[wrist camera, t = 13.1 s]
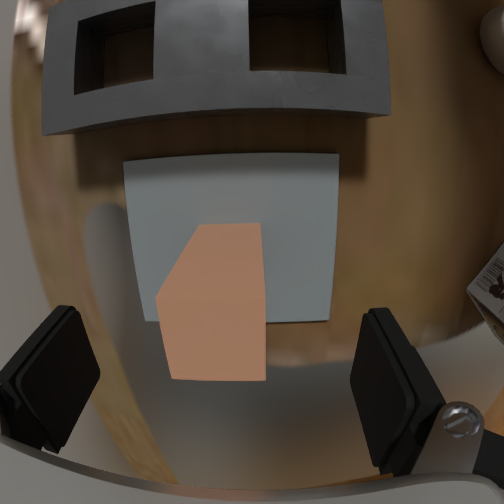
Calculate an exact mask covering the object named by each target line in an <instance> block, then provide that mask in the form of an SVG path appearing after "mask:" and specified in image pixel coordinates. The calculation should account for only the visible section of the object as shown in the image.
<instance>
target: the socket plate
mask: <svg viewBox="0 0 504 504" xmlns="http://www.w3.org/2000/svg"><path fill="white" fill-rule="evenodd" d="M249 16H290V17H308V18H320V19H326V32H327V47H328V65H329V73H320V72H302V71H250V40H249ZM150 26H154V59H153V79H151V80H145V81H139V82H133V83H127V84H122V85H117V86H112V87H107V88H103V72H104V46H105V36H109V35H113V34H117V33H121V32H125V31H130V30H135V29H139V28H144V27H150ZM243 114H303V115H327V116H343V117H356V118H373V117H380V116H388V115H391V97H390V75H389V59H388V47H387V37H386V28H385V19H384V12H383V5H382V0H68V1H65V2H63V3H60V4H58V5H55V6H53V7H51V8H50V9H49V16H48V23H47V30H46V39H45V48H44V60H43V77H42V136H49V135H65V134H77V133H82V132H87V131H92V130H98V129H103V128H109V127H115V126H122V125H128V124H135V123H143V122H151V121H159V120H168V119H178V118H189V117H203V116H219V115H243Z"/></svg>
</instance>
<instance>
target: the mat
mask: <svg viewBox="0 0 504 504" xmlns="http://www.w3.org/2000/svg"><path fill="white" fill-rule="evenodd" d="M123 170H124V182H125V193H126V203H127V212H128V220H129V228H130V235H131V243H132V249H133V256H134V263H135V268H136V275H137V281H138V286H139V291H140V297H141V302H142V307H143V312H144V317H145V321H158V322H159V317H158V311H157V306H156V300H155V297H156V296H157V294H158V292H159V290H160V289H161V287H162V285H163V283H164V282H165V280H166V278H167V277H168V275H169V273H170V272H171V270H172V268H173V267H174V265H175V263H176V261H177V260H178V258H179V257H180V255H181V253H182V252H183V250H184V248H185V247H186V245H187V243H188V242H189V240H190V238H191V237H192V235H193V234H194V232H195V230H196V229H197V227H198V226H199V225H205V224H242V223H261V237H262V251H263V266H264V281H265V296H266V322H295V321H319V320H329V314H330V304H331V294H332V284H333V272H334V260H335V246H336V231H337V212H338V187H339V154H329V153H231V154H208V155H191V156H177V157H164V158H153V159H143V160H133V161H125V162H123Z"/></svg>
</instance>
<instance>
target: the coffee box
mask: <svg viewBox="0 0 504 504" xmlns="http://www.w3.org/2000/svg"><path fill="white" fill-rule="evenodd" d="M466 292H467V294H468V295H469V297H470V298H471V300H472V301H473V302H474V304H475V305H476V307H477V308H478V310H479V311H480V313H481V315H482V316H483V318H484V319H485V321H486V322H487V324H488V325H489V327H490V328H491V330H492V332H493V333H494V335H495V336H496V337H497V338H498V339H499V340H500V342H501V343H503V344H504V242H503V244H502V245H501V246H500V248H499V249H498V250H497V252H496V253H495V254H494V255H493V257H492V258H491V259H490V260H489V262H488V263H487V264H486V265H485V267H484V268H483V269H482V270H481V271H480V273H479V274H478V275H477V276H476V277H475V278H474V280H473V281H472V282H471V283H470V284H469V285H468V286H467V288H466Z"/></svg>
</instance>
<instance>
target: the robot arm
mask: <svg viewBox="0 0 504 504" xmlns="http://www.w3.org/2000/svg"><path fill="white" fill-rule="evenodd" d="M99 378H100V369H99V366H98V363H97V361H96V358H95V356H94V353H93V350H92V347H91V345H90V342H89V339H88V336H87V333H86V330H85V327H84V324H83V321H82V318H81V315H80V313H79V312H78V311H77V310H76V308H75V307H73V306H65V305H59V306H57V307H56V308H55V309H54V310H53V311H52V313H51V314H50V315H49V316H48V317H47V318H46V319H45V320H44V321H43V322H42V323H41V325H40V326H39V327H38V328H37V329H36V330H35V331H34V332H33V334H32V335H31V336H30V337H29V338H28V339H27V340H26V342H25V343H24V344H23V345H22V346H21V347H20V348H19V350H18V351H17V352H16V353H15V354H14V355H13V357H12V358H11V359H10V360H9V362H8V363H7V364H6V365H5V366H4V368H3V369H2V370H1V371H0V504H504V436H501V435H498V434H496V433H493V432H491V431H488V430H485V429H484V419H483V416H482V415H481V413H480V411H479V410H478V409H477V408H475V407H474V406H473V405H471V404H468V403H466V402H460V401H458V402H451V403H448V404H446V402H445V400H444V398H443V396H442V394H441V392H440V390H439V389H438V387H437V385H436V383H435V382H434V380H433V378H432V376H431V375H430V373H429V371H428V369H427V367H426V366H425V364H424V362H423V361H422V359H421V357H420V355H419V354H418V352H417V350H416V349H415V348H414V346H411V344H410V343H409V341H408V339H407V338H406V336H405V334H404V333H403V331H402V329H401V328H400V326H399V324H398V323H397V321H396V320H395V318H394V316H393V315H392V313H391V312H390V310H389V309H388V308H386V307H385V308H371V309H369V311H368V313H365V314H364V315H363V318H362V323H361V328H360V333H359V338H358V343H357V348H356V353H355V357H354V362H353V366H352V371H351V375H350V385H351V389H352V392H353V395H354V399H355V402H356V406H357V409H358V412H359V416H360V420H361V423H362V427H363V431H364V434H365V438H366V442H367V445H368V449H369V453H370V457H371V460H372V464H373V466H374V467H379V471H380V475H383V474H388V473H393V476H394V477H393V478H387V479H381V480H374V481H368V482H362V483H355V484H347V485H339V486H330V487H318V488H306V489H289V490H232V489H215V488H202V487H192V486H183V485H176V484H168V483H162V482H156V481H150V480H144V479H139V478H134V477H129V476H124V475H120V474H116V473H111V472H108V471H104V470H100V469H96V468H92V467H89V466H85V465H82V464H79V463H75V462H72V461H69V460H66V459H63V458H60V457H57V456H54V455H51V454H48V453H46V452H43V451H41V449H42V447H44V448H45V449H46V450H48V451H51V452H54V453H56V454H58V453H59V451H60V449H61V447H64V446H65V444H66V442H67V440H68V438H69V436H70V434H71V432H72V430H73V428H74V426H75V424H76V422H77V420H78V418H79V416H80V414H81V412H82V410H83V408H84V406H85V405H86V402H87V401H88V399H89V397H90V395H91V393H92V391H93V389H94V387H95V386H96V384H97V382H98V380H99Z"/></svg>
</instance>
